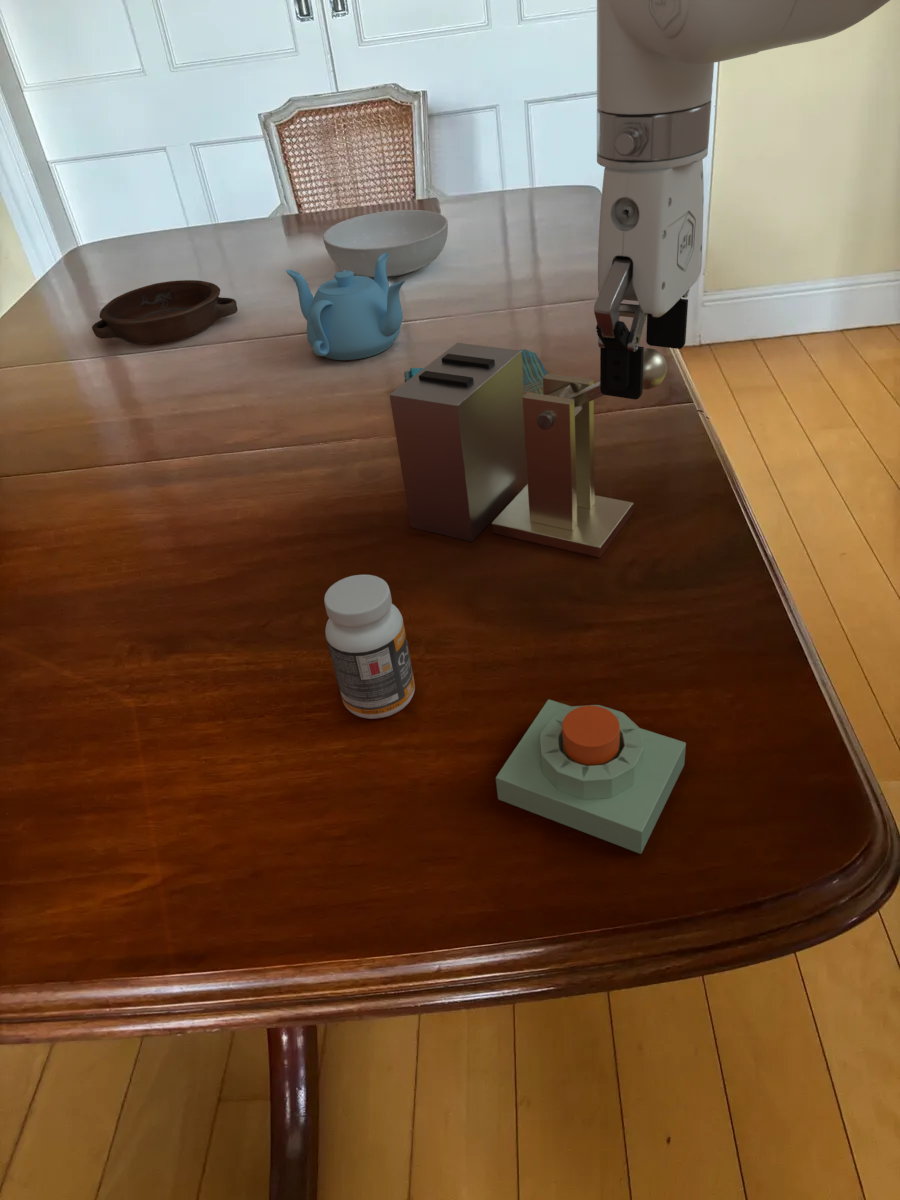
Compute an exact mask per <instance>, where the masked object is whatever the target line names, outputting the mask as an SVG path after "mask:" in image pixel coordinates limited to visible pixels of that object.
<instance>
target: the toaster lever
mask: <svg viewBox="0 0 900 1200" xmlns="http://www.w3.org/2000/svg"><path fill="white" fill-rule="evenodd" d="M667 370H668V365H667V361H666V358H665V357H664V355H663V353H661V352H660V351H658V350H657V349H654V348H651V347H644V360H643V389H642V390H647V391H648V390H651V389H654V388H657V387H658V386H659V385H661V384H662V382H663V381H664V379H665V377H666V375H667ZM548 395H550V396H557V397H563V398H570V399H574V408H575V416H576V415H577V414H578V413H579V412H580V411H581V410H582V409H583V407H582V406H581V405H583V404H585V403H587V402H590V401H592V400H596V399H599V398H601V397H603V396H605V395H603V394H602V393H601V391H600V381H597V382H596V383H595V382H594V384H593V385H591V386H589V387H586V388H584V389H582V390H580V391H578V392H575V393H574V391H573V389H572V387H571V386H570V385H568V386H566V387H563V388H561V389H559V390H557V391H555V392H552V393H550V394H548Z"/></svg>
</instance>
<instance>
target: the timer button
mask: <svg viewBox="0 0 900 1200" xmlns="http://www.w3.org/2000/svg"><path fill="white" fill-rule="evenodd" d="M582 706H583V707H579V708H576V709H574V710H572V711H571V712H569V713H568V714H567V715H566V717H565V718H564V720H563V723H562V734H563V748H564V751H565V753H566V754H567V755H568V756H569V757H570V758H571V759H572V760H574V761H576V762H578V763H580V764H584V765H600V764H603V763H606V762H608V761H610V760H611V759H612V758H614V757H615V755H616V754H617V752H618V750H619V742H620V725H619V721H618V719H617V718H616V716H615V715H614V714H613V713H612V712H610V711H609V710H607V709H605V708H602V707H598V706H586V705H582Z"/></svg>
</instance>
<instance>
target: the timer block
mask: <svg viewBox="0 0 900 1200" xmlns="http://www.w3.org/2000/svg"><path fill="white" fill-rule="evenodd" d="M583 706H584V705H574V706H573V705H568V704H565V703H562V702H560V701H555V700H553V699H550V698H549V699H547V700H546V701H545V704H544V705H543V706H542V708H541V709H540V710H539V713H538V714H537V715H536V717H535V718H534V720H533V721H532V723H531V724H530V726H529V727H528V728H527V730H526V732H525V733H524V734H523V736H522V737H521V739H520V741H519V742H518V744H517V745H516V747H515V748H514V750H513V751H512V752H511V754H510V755H509V757H508V759H507V760H506V761H505V763H504V764H503V766H501V769H500V770H499V772H498V773H497V775H496V776H495V785H496V794H497V795H496V796H497V800H498V801H501V802H503V803H507V804H508V805H512V806H515V807H517V808H520V809H522V810H525V811H527V812H530V813H532V814H535V815H538V816H541V817H543V818H545V819H548V820H551V821H554V822H555V823H558V824H560V825H564V826H566V827H569V828H572V829H575V830H577V831H579V832H582V833H585V834H587V835H590V836H593V837H595V838H598V839H600V840H603V841H605V842H608V843H611V844H614V845H616V846H618V847H622V848H624V849H626V850H628V851H631V852H633V853H636V854H639V855H641V854H643V851H644V850H645V847H646V845H647V843H648V841H649V839H650V837H651V835H652V833H653V830H654V829H655V827H656V824H657V823H658V820H659V819H660V816H661V814H662V812H663V811H664V808H665V805H666V804H667V801H668V800H669V798H670V795H671V794H672V791H673V790H674V788H675V786H676V783H677V781H678V779H679V777H680V775H681V773H682V771H683V769H684V767H685V763H686V749H687V748H686V747H687V743H686V741H682V740H678V739H676V738H672V737H669V736H666V735H662V734H660V733H656V732H654V731H650V730H648V729H644V728H641V727H639V726H638V725H637V724H636V723H635V722H634V721H633V720H632V719H631V718H630V717H628V716H627V715H626V714H625V713H624V712H622V711H620V710H617V709H613V708H611V707H607V706H604V705H600V704H589V705H587V704H586V705H585V706H598V707H602V708H605V709H607V710H609V711H610V712H612V713H613V714H614V715H615V716H616V718H617V719H618V721H619V725H620V742H619V750H618V752H617V754H616V755H615V757H614V758H612V759H611V760H610V761H608V762H606V763H603V764H600V765H584V764H580V763H578V762H576V761H574V760H572V759H571V758H570V757H569V756H568V755H567V754H566V753H565V751H564V748H563V734H562V723H563V720H564V718H565V717H566V715H567V714H568V713H569V712H571V711H572V710H574V709H576V708H579V707H583Z"/></svg>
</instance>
